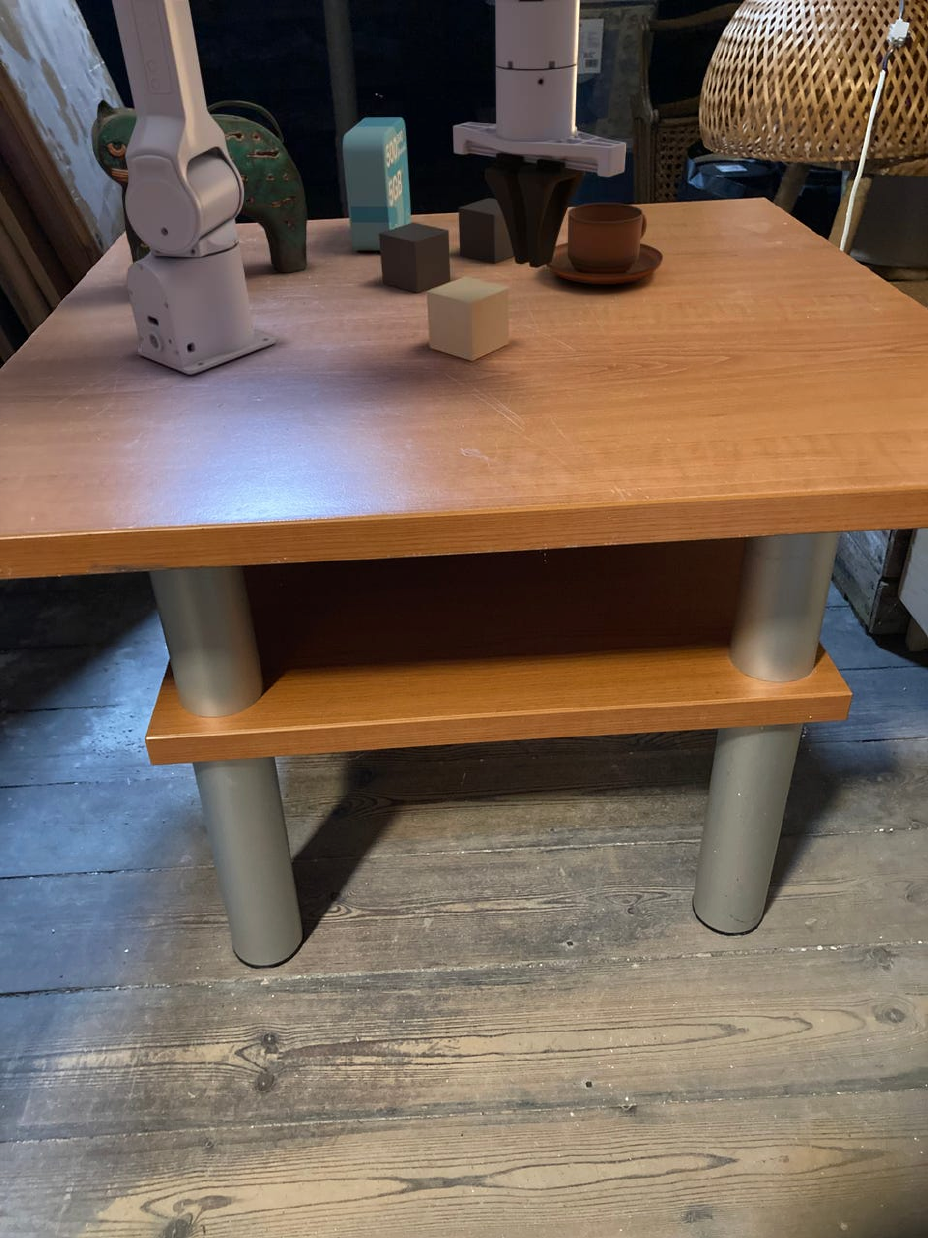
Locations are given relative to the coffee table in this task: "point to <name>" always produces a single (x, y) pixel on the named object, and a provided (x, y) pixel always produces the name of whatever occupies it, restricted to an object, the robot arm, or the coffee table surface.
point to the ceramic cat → (258, 161)
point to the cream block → (468, 317)
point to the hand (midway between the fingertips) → (533, 262)
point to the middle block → (415, 257)
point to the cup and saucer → (605, 245)
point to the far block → (484, 232)
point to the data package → (376, 179)
